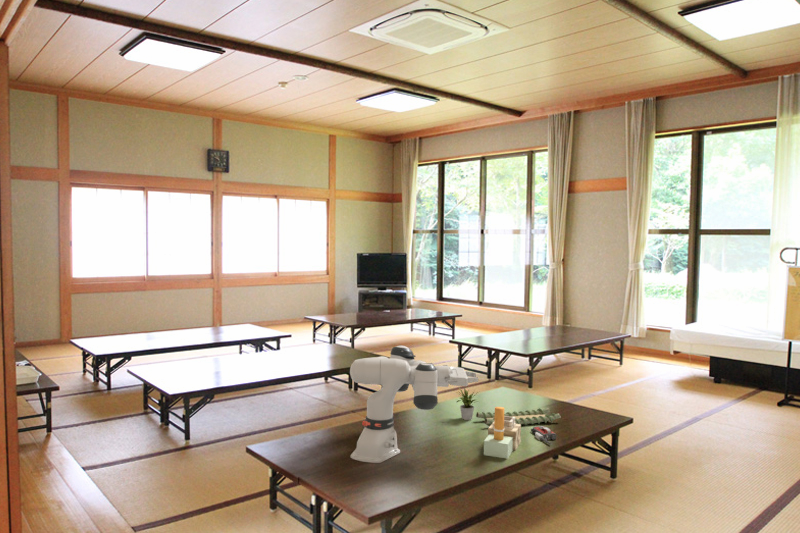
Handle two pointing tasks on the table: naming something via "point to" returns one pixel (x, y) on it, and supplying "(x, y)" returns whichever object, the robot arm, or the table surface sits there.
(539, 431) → the walkie-talkie
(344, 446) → the table surface
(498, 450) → the block
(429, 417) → the table surface
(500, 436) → the orange cylinder
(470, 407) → the house plant
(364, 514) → the table surface
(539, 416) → the stretcher
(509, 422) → the tan stepped block
